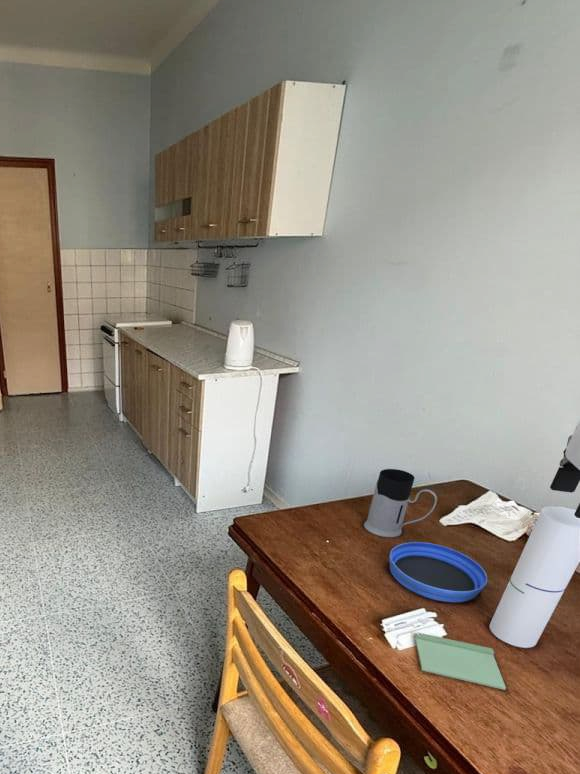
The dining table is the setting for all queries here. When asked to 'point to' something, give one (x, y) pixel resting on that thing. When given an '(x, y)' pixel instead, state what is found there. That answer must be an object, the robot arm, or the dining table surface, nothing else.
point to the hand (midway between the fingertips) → (573, 503)
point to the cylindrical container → (539, 578)
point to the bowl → (437, 572)
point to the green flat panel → (458, 660)
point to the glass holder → (391, 503)
